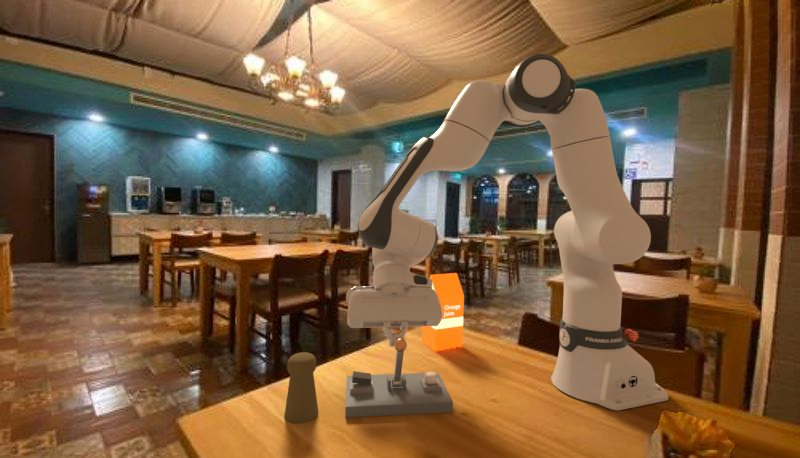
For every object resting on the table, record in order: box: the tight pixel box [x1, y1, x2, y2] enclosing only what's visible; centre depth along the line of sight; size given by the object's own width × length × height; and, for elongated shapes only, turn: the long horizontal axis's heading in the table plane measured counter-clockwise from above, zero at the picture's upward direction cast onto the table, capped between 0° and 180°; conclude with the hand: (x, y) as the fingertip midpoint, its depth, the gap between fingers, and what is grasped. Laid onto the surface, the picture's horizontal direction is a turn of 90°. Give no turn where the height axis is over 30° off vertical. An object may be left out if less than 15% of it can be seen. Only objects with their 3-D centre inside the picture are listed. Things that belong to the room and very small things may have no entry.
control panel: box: [344, 372, 454, 418], centre depth 73 cm, size 20×12×4 cm, turn 97°
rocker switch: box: [351, 370, 372, 385], centre depth 72 cm, size 4×2×1 cm, turn 97°
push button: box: [424, 371, 437, 384], centre depth 73 cm, size 3×3×1 cm
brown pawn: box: [284, 351, 319, 424], centre depth 66 cm, size 6×6×11 cm
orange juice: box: [421, 272, 465, 352], centre depth 101 cm, size 8×9×20 cm
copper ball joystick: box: [392, 338, 408, 387], centre depth 70 cm, size 2×2×13 cm
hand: (397, 345), depth 73 cm, fingers closed
